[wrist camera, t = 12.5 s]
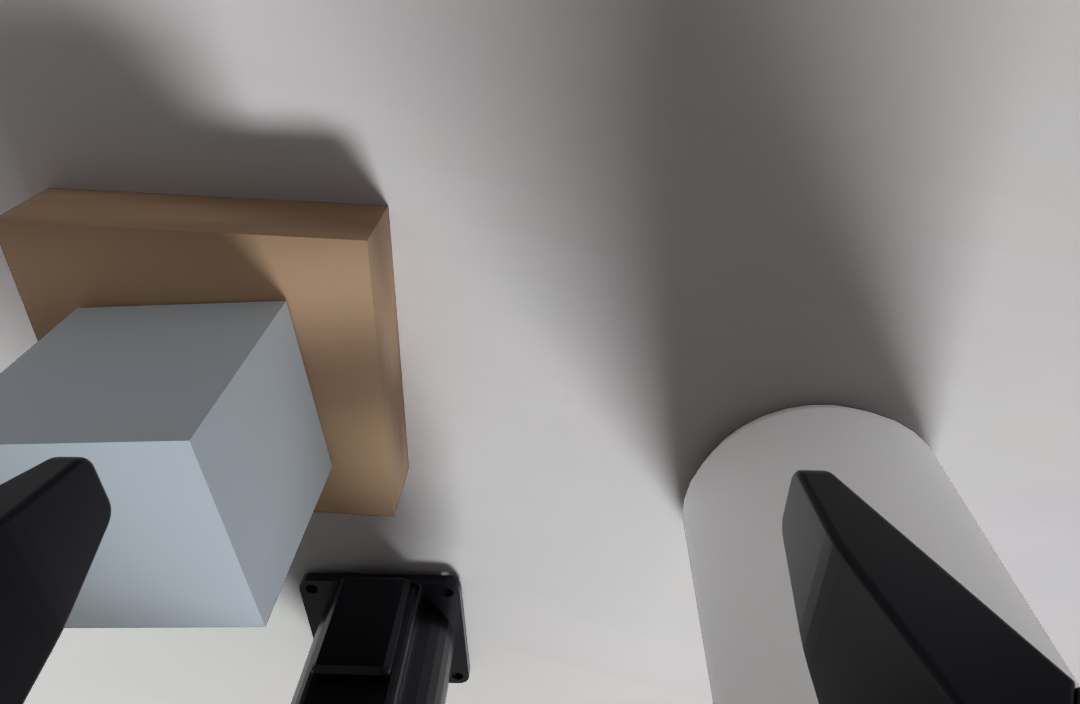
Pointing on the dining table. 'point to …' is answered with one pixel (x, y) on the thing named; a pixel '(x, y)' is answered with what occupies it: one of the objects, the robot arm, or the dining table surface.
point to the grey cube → (176, 454)
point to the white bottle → (759, 554)
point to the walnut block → (242, 298)
